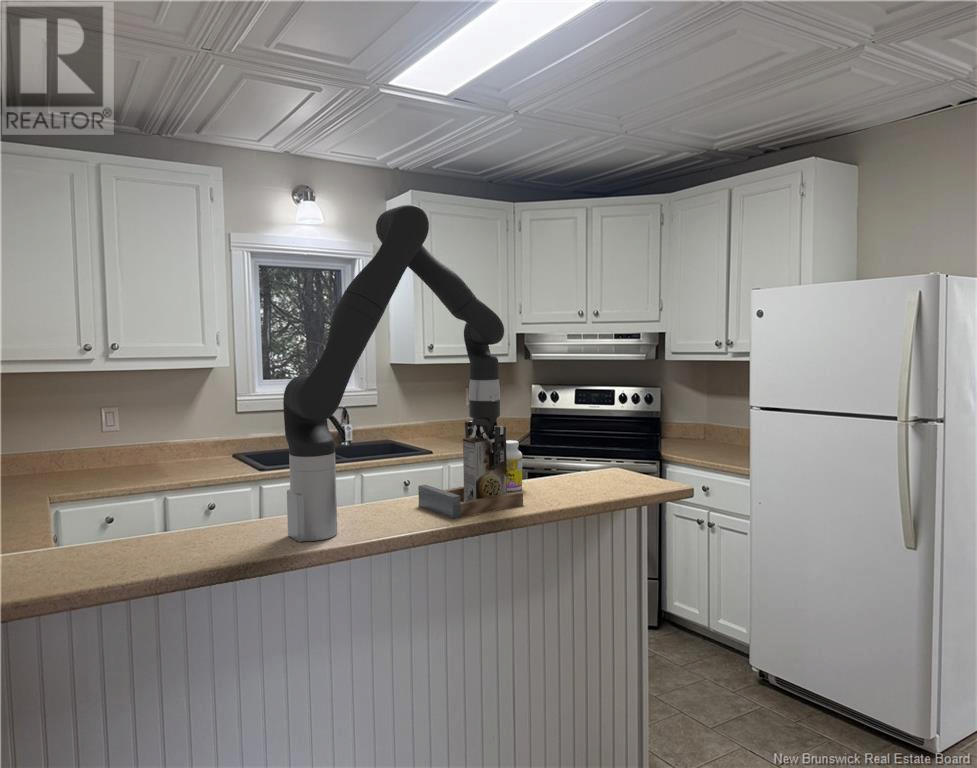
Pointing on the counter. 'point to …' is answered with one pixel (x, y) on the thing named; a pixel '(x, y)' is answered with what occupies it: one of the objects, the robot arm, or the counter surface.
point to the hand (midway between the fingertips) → (485, 465)
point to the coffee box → (482, 470)
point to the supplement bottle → (513, 466)
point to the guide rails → (486, 502)
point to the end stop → (439, 501)
